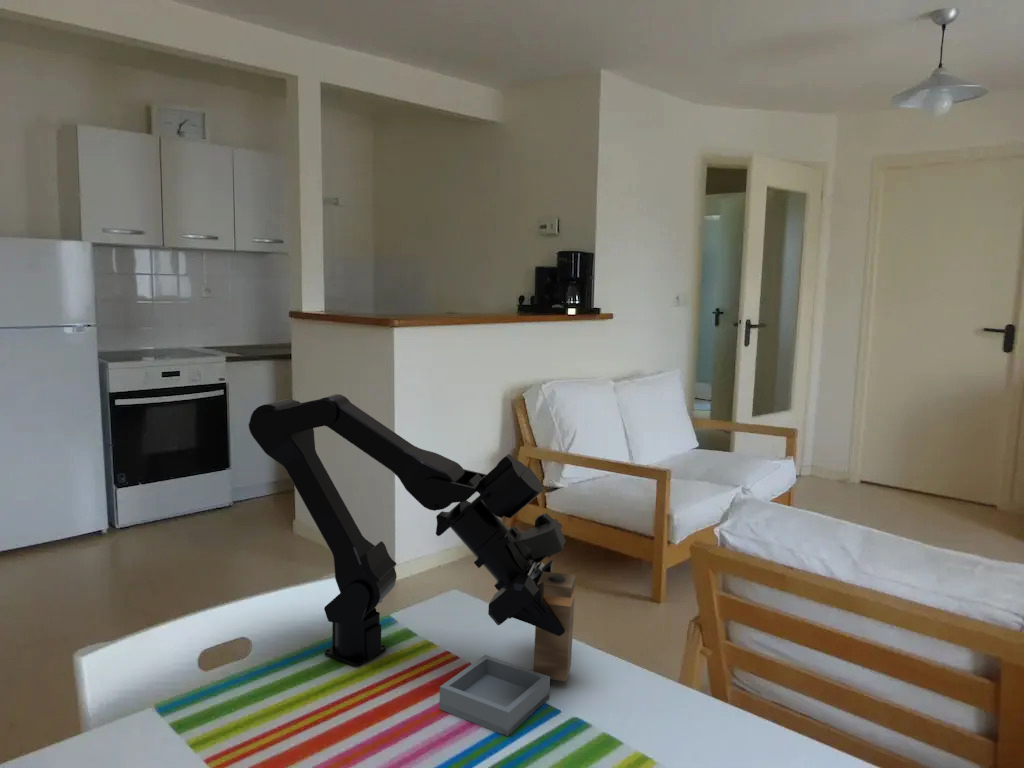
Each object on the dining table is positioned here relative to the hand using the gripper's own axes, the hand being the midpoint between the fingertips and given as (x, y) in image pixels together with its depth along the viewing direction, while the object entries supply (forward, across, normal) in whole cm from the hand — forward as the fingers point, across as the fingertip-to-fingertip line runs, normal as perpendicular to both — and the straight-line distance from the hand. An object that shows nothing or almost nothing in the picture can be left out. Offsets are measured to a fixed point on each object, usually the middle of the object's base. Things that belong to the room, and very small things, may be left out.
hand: (564, 625), depth 101 cm
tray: (0, -8, +11) cm, 14 cm away
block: (+4, 0, +6) cm, 7 cm away
